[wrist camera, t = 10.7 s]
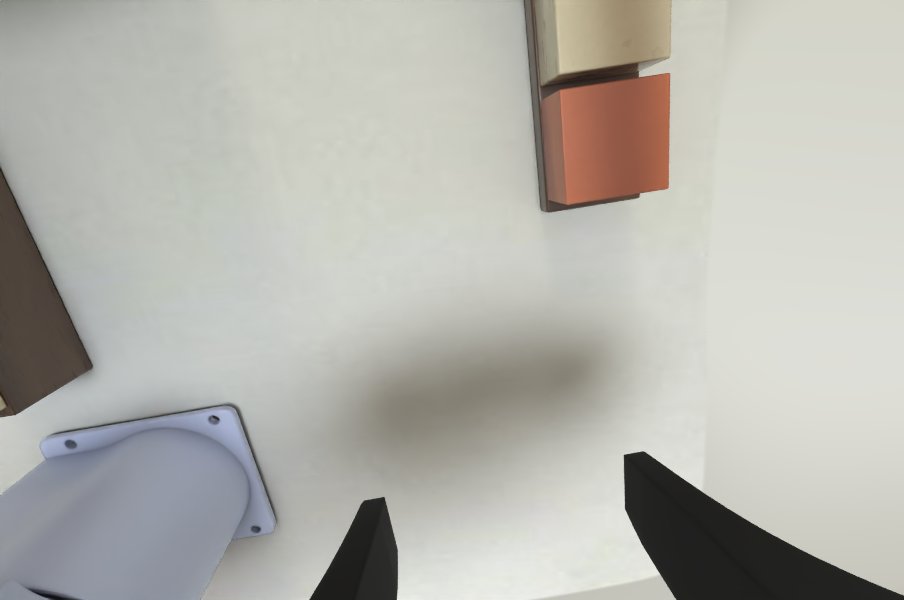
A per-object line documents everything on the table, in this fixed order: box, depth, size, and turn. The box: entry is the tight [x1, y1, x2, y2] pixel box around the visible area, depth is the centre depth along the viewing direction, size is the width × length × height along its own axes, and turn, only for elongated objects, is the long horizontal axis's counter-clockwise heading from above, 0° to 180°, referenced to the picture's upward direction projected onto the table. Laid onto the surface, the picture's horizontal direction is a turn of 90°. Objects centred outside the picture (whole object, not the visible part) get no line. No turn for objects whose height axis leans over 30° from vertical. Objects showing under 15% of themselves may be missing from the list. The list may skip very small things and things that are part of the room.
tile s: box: [541, 73, 670, 205], centre depth 16 cm, size 4×4×2 cm
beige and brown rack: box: [524, 0, 671, 213], centre depth 15 cm, size 4×14×3 cm, turn 9°
